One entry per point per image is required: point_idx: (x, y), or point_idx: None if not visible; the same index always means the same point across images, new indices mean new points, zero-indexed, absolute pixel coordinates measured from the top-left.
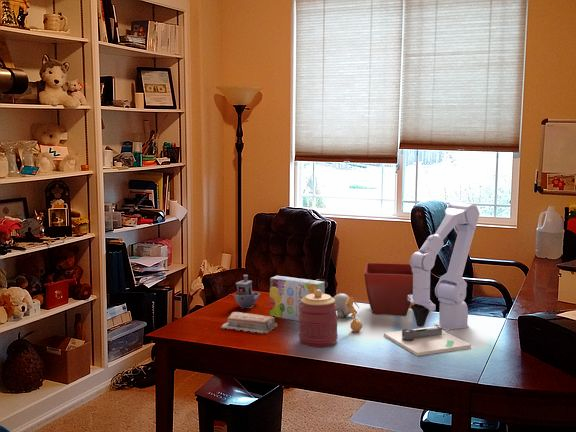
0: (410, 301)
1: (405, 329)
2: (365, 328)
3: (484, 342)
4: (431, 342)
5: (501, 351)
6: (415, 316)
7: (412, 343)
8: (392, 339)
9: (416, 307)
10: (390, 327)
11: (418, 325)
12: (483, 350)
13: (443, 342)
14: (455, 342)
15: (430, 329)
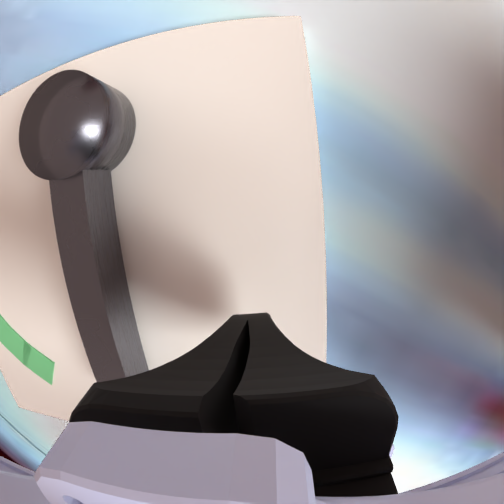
0: (191, 473)
1: (90, 108)
2: (466, 22)
3: None
4: (28, 265)
5: (15, 442)
6: (273, 344)
7: None
8: (163, 36)
9: (130, 421)
10: (464, 171)
11: (235, 316)
12: (11, 412)
13: (28, 328)
14: (33, 377)
15: (87, 341)
